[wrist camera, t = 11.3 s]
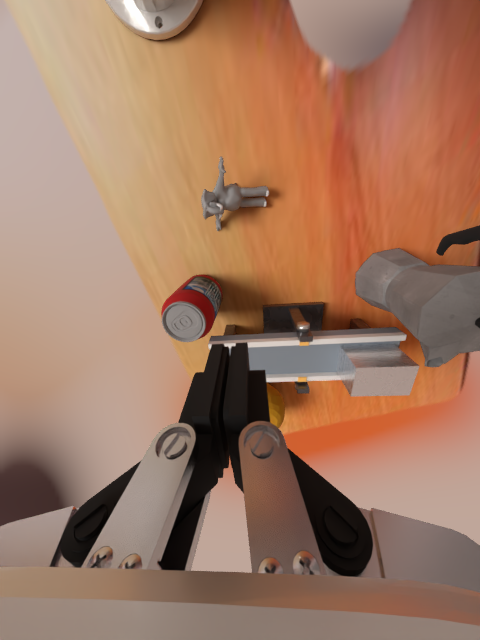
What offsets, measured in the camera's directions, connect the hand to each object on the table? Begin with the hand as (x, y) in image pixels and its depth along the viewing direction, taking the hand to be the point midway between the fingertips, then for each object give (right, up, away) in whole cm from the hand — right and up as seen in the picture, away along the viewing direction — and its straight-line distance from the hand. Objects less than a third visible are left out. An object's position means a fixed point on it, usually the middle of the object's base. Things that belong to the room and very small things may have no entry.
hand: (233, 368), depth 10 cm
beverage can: (-6, +7, +27) cm, 28 cm away
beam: (+9, -2, +22) cm, 24 cm away
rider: (+18, -3, +20) cm, 27 cm away
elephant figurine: (-1, +20, +20) cm, 29 cm away
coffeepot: (+23, +10, +24) cm, 35 cm away
